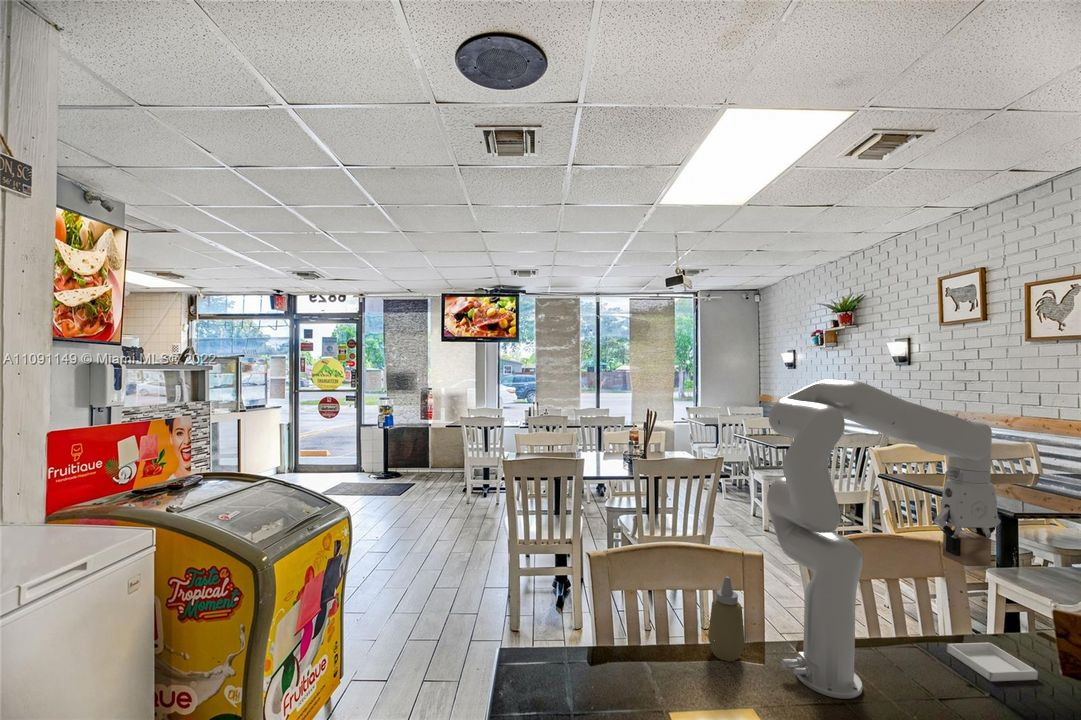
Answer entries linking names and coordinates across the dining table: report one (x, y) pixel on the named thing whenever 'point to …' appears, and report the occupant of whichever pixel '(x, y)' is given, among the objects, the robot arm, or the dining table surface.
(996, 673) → the tray
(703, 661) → the dining table surface
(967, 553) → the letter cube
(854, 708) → the dining table surface
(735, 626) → the squeeze bottle
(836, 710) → the dining table surface
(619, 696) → the dining table surface
